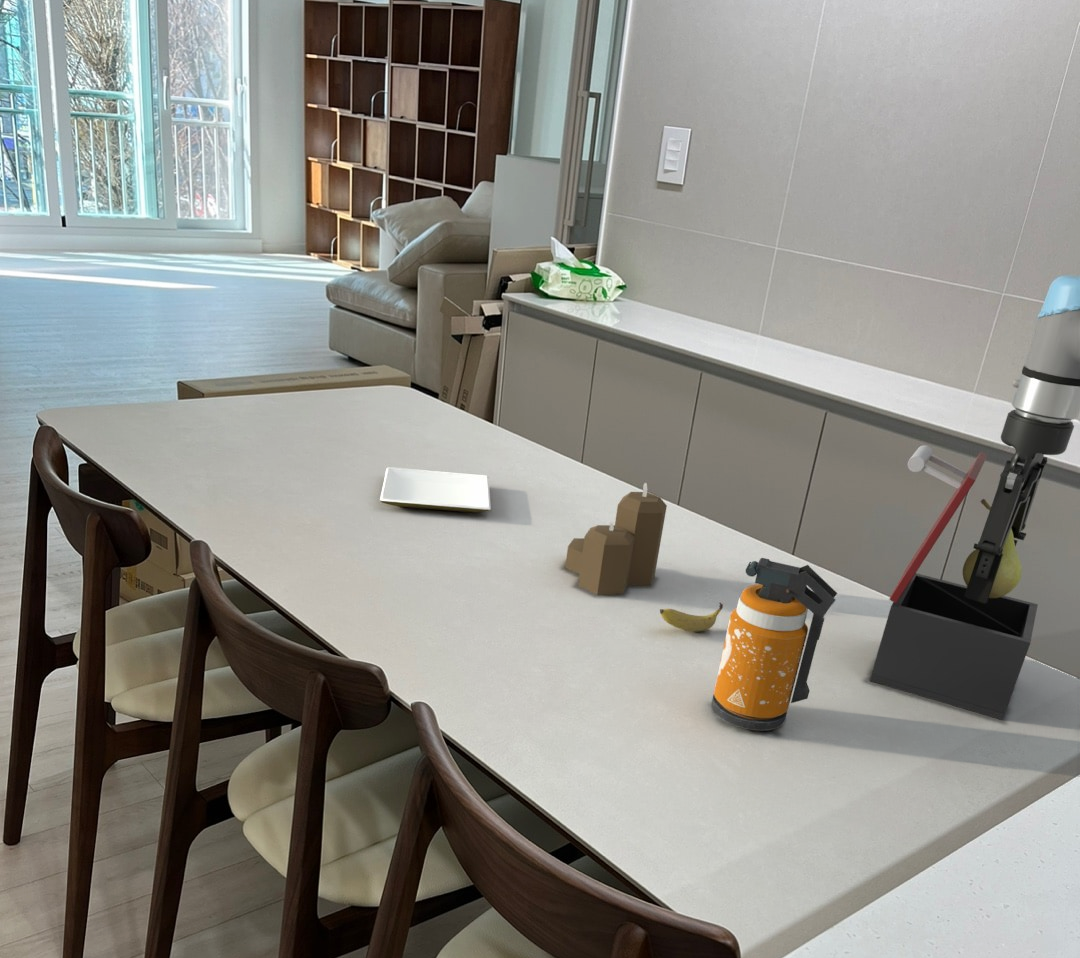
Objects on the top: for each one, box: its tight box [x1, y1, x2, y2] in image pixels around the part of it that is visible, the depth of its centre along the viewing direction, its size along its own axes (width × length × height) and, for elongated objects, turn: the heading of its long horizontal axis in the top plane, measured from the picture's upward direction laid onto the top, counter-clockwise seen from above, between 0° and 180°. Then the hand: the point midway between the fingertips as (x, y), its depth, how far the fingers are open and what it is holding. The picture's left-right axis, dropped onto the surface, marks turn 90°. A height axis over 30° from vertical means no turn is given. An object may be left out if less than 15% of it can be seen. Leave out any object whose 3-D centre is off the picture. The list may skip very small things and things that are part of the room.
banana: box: [659, 602, 724, 633], centre depth 148 cm, size 10×2×4 cm, turn 113°
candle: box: [564, 482, 667, 596], centre depth 160 cm, size 14×14×15 cm
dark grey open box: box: [869, 572, 1039, 721], centre depth 141 cm, size 17×15×11 cm
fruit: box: [962, 498, 1023, 598], centre depth 135 cm, size 7×8×12 cm
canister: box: [710, 557, 838, 731], centre depth 123 cm, size 9×11×20 cm
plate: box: [379, 466, 492, 514], centre depth 187 cm, size 19×19×2 cm
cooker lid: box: [889, 444, 988, 603], centre depth 137 cm, size 18×15×8 cm
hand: (983, 591), depth 137 cm, fingers closed on fruit, 7 cm apart
